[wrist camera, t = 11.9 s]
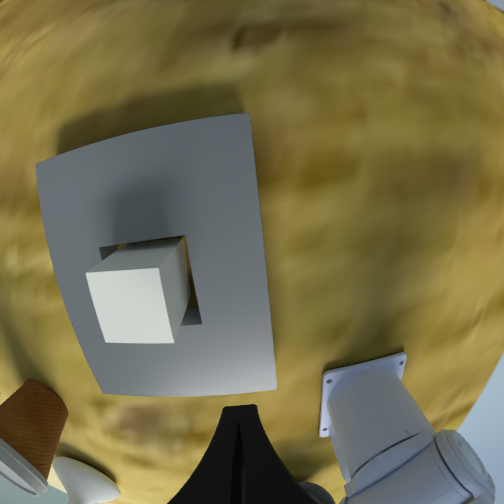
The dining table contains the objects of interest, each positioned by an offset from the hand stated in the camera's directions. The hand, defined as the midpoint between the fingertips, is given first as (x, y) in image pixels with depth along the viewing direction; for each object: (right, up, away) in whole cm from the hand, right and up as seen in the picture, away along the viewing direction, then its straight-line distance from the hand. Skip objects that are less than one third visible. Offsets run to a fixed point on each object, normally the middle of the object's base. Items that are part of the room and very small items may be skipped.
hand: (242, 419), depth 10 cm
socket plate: (-6, +6, +8) cm, 11 cm away
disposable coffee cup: (-23, -10, +12) cm, 28 cm away
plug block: (-6, +6, +8) cm, 12 cm away
